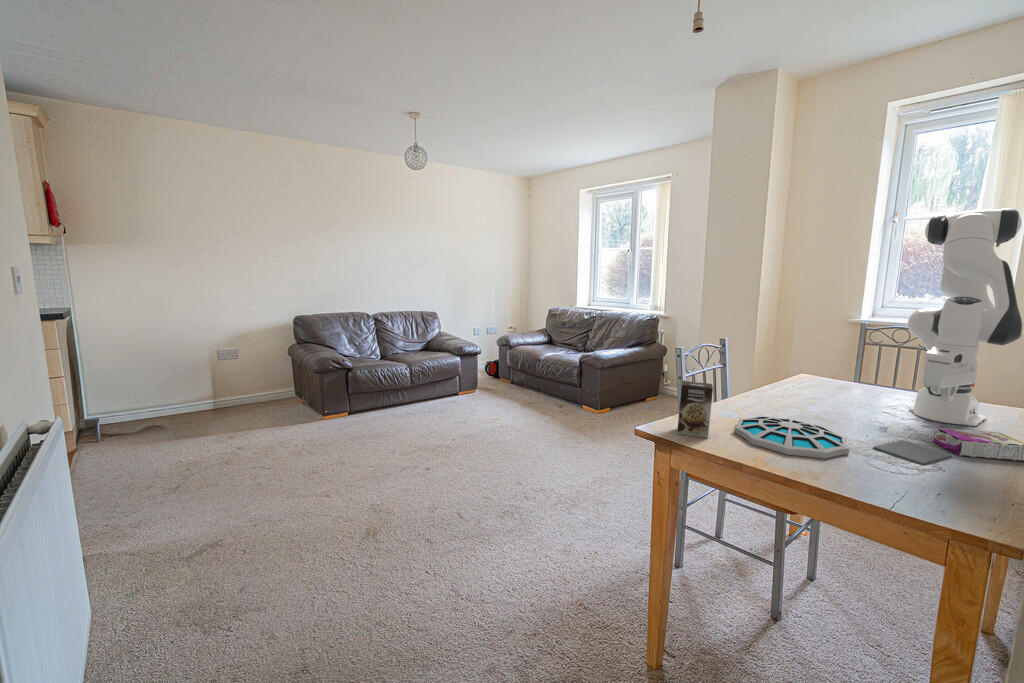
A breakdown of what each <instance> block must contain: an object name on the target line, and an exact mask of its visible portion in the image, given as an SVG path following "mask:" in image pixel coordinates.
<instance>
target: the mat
mask: <svg viewBox="0 0 1024 683" xmlns="http://www.w3.org/2000/svg"><path fill="white" fill-rule="evenodd" d="M872 449H873V450H876V451H879V452H881V453H885V454H888V455H891V456H894V457H897V458H900V459H903V460H906V461H910V462H912V463H914V464H915V463H916V464H918V465H921V466H924V465H927V464H928V465H929V464H932V463H935V462H936V463H937V462H939V461H943V460H947V459H951V458H953V455H952V454H950V453H947V452H943V451H940V450H937V449H933V448H929V447H927V446H924V445H921V444H917V443H915V442H910V441H908V440H904V439H901V440H896V441H891V442H887V443H884V444H878V445H875V446H872Z"/></svg>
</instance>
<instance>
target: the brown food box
mask: <svg viewBox="0 0 1024 683" xmlns="http://www.w3.org/2000/svg"><path fill="white" fill-rule="evenodd" d="M713 392H714V387H713V384H712V383H707V382H699V381H698V382H697V381H688V380H687V381H686V380H681V386H680V396H679V397H680V398H679V407H678V408H679V409H678V418H677V430H676V433H677V435H680V436H681V435H682V436H688V437H695V438H700V439H701V438H702V439H709V432H710V431H709V430H710V422H711V411H712V400H713Z"/></svg>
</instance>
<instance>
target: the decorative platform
mask: <svg viewBox="0 0 1024 683" xmlns="http://www.w3.org/2000/svg"><path fill="white" fill-rule="evenodd" d="M734 433H735V434H736V435H737V436H740V437H742V438H743V439H744V440H746V441H747V442H749V443H750V444H751V445H753V446H757V447H761V448H765V449H768V450H771V451H775V452H778V453H781V454H783V455H786V456H787V455H788V456H789V455H790V456H796V457H797V456H798V457H799V456H800V457H808V458H817V459H825V460H826V459H830V458H834V457H839V456H846V455H847V456H848V455H849V453H850V448H849V446H848V444H847V439H848V438H847V437H845V436H842V435H840V434H838V433H835V432H834V431H832V430H829V429H827V428H826V427H824V426H821V425H818V424H813V423H808V422H802V421H799V420H796V419H793V418H783V417H781V418H780V417H772V416H766V415H765V416H761V415H759V416H754V417H750V418H739V419H738V424H737V425H736V426H735V427H734Z"/></svg>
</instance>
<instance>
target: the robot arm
mask: <svg viewBox="0 0 1024 683" xmlns="http://www.w3.org/2000/svg"><path fill="white" fill-rule="evenodd" d="M1022 221H1023V220H1022V217H1021V215H1020V212H1019V211H1018V210H1017V209H1015V208H999V209H996V208H993V209H992V208H987V209H986V208H984V209H981V208H980V209H973V210H964V211H957V212H956V211H955V212H950V213H946V212H944V213H943V212H942V213H939V214H936V215H934V216H932V217H931V218H929V221H928V223H927V224H926V226H925V229H924V235H925V238H926V239H927V242H928V243H929V244H931V245H936V246H943V251H942V262H943V267H942V274H941V279H940V280H941V281H940V291H941V292H942V294H944V295H945V296H947V297H949V298H946V299H945V301H944V304H943V306H942V307H930V308H929V307H928V308H927V307H926V308H919V309H917V310H915V311H913V312H912V313H911V315H910V316H909V318H908V321H907V327H908V330H909V331H910V333H911V334H912V335H913V336H915V337H916V338H918V339H919V341H920V342H922V344H923V345H924V346H925V349H926V350H927V351H926V352H925V353H924V360H925V361H926V362H925V363H924V368H923V376H922V383H923V388H921V389H918V391H917V394H916V397H915V401H914V406H911V407H909V409H908V410H909V411H911V412H912V413H914V415H915V416H918V417H921V418H924V419H927V420H931V421H935V422H940V423H945V424H953V425H963V426H964V425H965V426H971V427H976V426H979V425H980V424H981V423H983V422H984V421H986V420H985V419H987V416H985V415H982V414H979V412H978V411H979V405H980V404H979V403H980V402H979V401H978V400H977V399H976V398H975V396H974V395H973V394H972V391H973V390H972V388H975V386H976V380H977V379H976V378H977V373H978V361H977V356H978V351H979V346H980V344H979V343H987V344H991V345H997V346H1005V345H1009V344H1010V343H1011V344H1012V343H1013V342H1015V341H1017V340H1018V339H1020V338H1021V336H1022V334H1023V330H1024V323H1023V319H1022V316H1021V312H1020V310H1019V306H1018V300H1017V295H1016V291H1015V290H1016V289H1015V285H1014V279H1013V275H1012V270H1011V268H1010V266H1009V263H1008V262H1007V261H1006V260H1003V259H1001V258H999V256H998V255H997V253H996V252H995V248H999V247H1000V245H1001V244H1004V243H1007V242H1009V241H1012V239H1014V238H1015V237H1016V235H1017V234H1018V233H1019V232H1020V229H1021V228H1022V225H1023V224H1022V223H1023V222H1022ZM988 286H989V288H991V290H992V296H993V300H994V301H993V302H994V303H993V302H992V301H991V299H990V297H989V294H988V288H987V287H988ZM983 420H984V421H983ZM982 421H983V422H982ZM979 423H980V424H979Z"/></svg>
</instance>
